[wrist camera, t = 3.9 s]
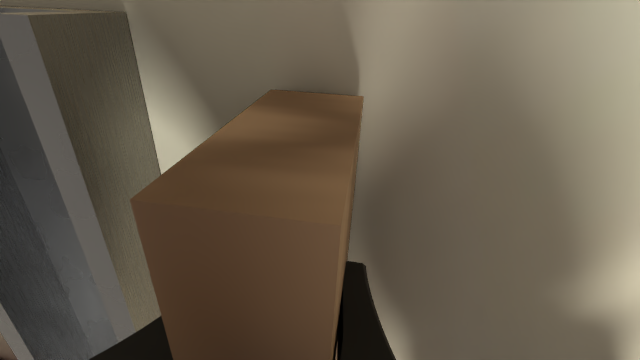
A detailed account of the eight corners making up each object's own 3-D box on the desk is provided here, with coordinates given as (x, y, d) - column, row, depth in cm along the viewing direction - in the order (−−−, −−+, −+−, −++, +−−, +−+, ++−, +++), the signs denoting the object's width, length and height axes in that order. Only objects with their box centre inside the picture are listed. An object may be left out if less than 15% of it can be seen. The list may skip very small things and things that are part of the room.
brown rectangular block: (363, 96, 10) (341, 225, 4) (338, 343, 16) (314, 552, 10) (271, 89, 11) (129, 199, 5) (278, 333, 16) (219, 528, 10)
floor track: (125, 11, 11) (27, 15, 8) (208, 394, 21) (179, 460, 18) (-56, 3, 12) (-209, 3, 9) (108, 376, 22) (65, 435, 19)
